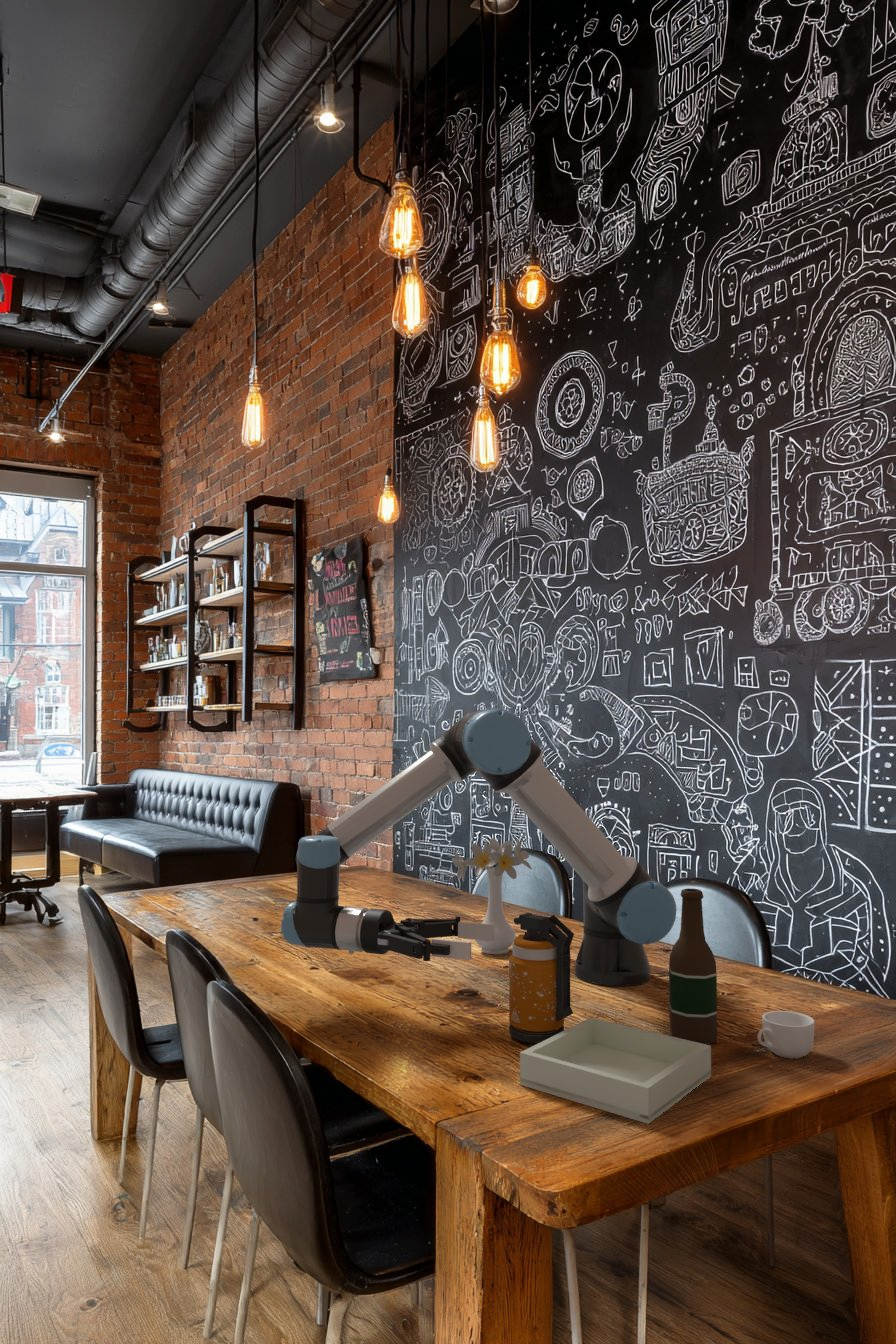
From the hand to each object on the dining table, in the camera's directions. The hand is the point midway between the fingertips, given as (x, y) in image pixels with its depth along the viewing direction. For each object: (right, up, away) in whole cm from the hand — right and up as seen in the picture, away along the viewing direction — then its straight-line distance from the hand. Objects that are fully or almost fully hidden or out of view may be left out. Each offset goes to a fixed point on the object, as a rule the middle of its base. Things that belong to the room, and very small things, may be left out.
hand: (483, 941), depth 153 cm
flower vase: (+4, -18, +52) cm, 55 cm away
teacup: (+46, -15, -11) cm, 50 cm away
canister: (+9, -15, -4) cm, 18 cm away
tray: (+18, -14, -21) cm, 31 cm away
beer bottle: (+34, -15, -3) cm, 38 cm away
